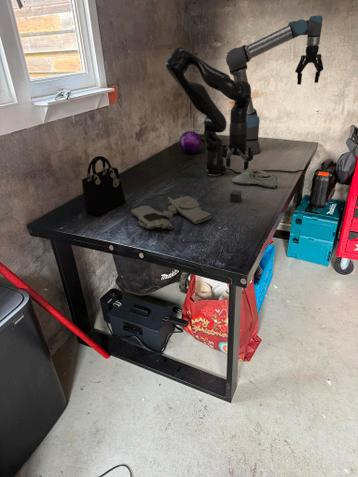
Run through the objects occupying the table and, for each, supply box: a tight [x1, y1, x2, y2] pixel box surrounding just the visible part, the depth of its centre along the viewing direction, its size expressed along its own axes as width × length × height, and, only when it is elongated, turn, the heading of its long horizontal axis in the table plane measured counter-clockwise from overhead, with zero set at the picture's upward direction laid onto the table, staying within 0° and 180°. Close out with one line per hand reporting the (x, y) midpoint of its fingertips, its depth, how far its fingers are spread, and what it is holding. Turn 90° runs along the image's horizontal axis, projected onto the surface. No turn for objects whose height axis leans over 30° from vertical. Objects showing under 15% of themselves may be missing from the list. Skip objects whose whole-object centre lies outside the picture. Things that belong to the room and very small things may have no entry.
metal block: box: [229, 189, 242, 204], centre depth 157 cm, size 4×4×4 cm
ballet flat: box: [231, 169, 279, 189], centre depth 173 cm, size 8×24×8 cm, turn 61°
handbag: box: [81, 155, 126, 217], centre depth 153 cm, size 21×9×25 cm, turn 148°
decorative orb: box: [178, 130, 202, 154], centre depth 230 cm, size 15×15×15 cm
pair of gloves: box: [130, 195, 212, 230], centre depth 145 cm, size 30×26×5 cm
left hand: (236, 168), depth 151 cm, fingers open, 8 cm apart
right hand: (307, 83), depth 213 cm, fingers open, 13 cm apart
